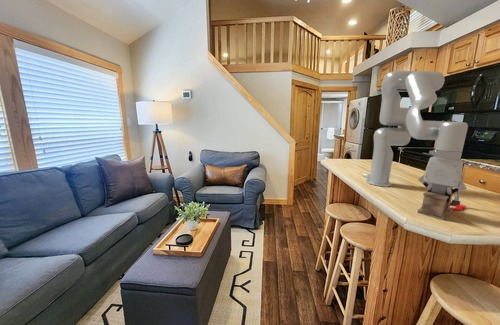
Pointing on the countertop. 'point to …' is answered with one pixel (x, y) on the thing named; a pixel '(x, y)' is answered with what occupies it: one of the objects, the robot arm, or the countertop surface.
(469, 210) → the countertop surface
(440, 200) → the ribbed brown block
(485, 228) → the countertop surface
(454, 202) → the tow hook
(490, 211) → the countertop surface
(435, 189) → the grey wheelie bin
